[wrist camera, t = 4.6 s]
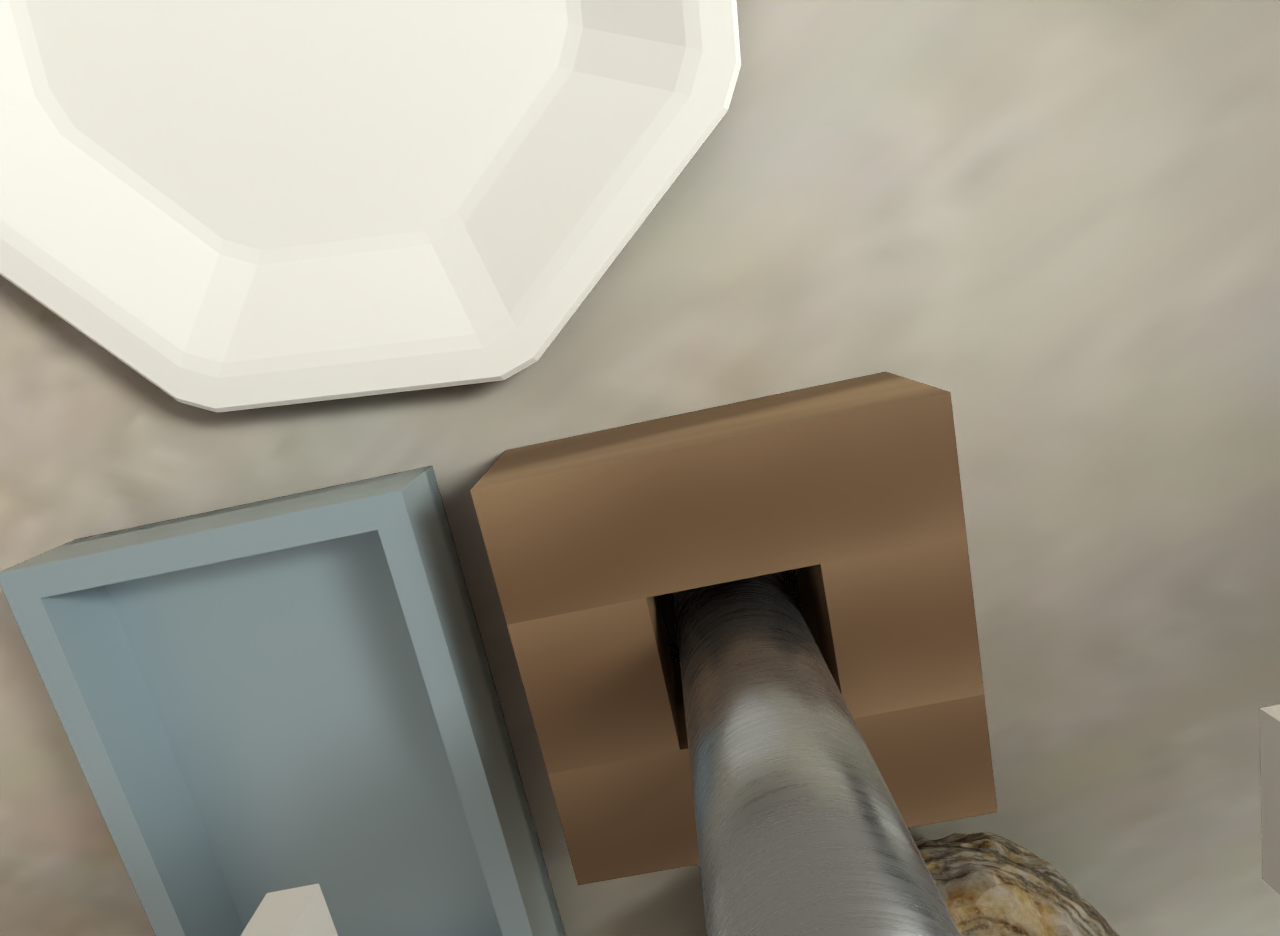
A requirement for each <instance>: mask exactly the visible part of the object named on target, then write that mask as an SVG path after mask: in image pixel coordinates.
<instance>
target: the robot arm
mask: <svg viewBox="0 0 1280 936" xmlns="http://www.w3.org/2000/svg"><path fill="white" fill-rule="evenodd" d="M1259 711H1260V770H1261V829H1262V878H1263V879H1264V880H1265V881H1266V882H1267V883H1268V884H1269V885H1270V886H1271V887H1272V888H1273V889H1275V890H1276V891H1277V892H1278V893H1279V894H1280V705H1274V706H1269V707H1264V708H1259ZM241 936H338V934H337V931H336V929H335V926H334V923H333V921H332V918H331V915H330V912H329V910H328V907H327V904H326V902H325V899H324V896H323V893H322V891H321V888H320V885H319V883H318V884H313V885H308V886H302V887H297V888H291V889H286V890H281V891H275V892H270V893H267V894H266V895H265V897H264V899H263V900H262V902H261V903H260V905H259V907H258V908H257V910H256V911H255V913H254V915H253V916H252V918H251V920H250V921H249V923H248V924H247V926H246V928H245V929H244V931H243V932H242V934H241Z"/></svg>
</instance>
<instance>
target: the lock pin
mask: <svg viewBox="0 0 1280 936" xmlns="http://www.w3.org/2000/svg"><path fill="white" fill-rule="evenodd" d="M673 599H674V609H675V619H676V629H677V639H678V649H679V659H680V669H681V679H682V689H683V699H684V709H685V719H686V730H687V740H688V750H689V760H690V770H691V780H692V790H693V800H694V810H695V820H696V830H697V840H698V850H699V860H700V870H701V880H702V891H703V901H704V911H705V921H706V931H707V936H961V934H960V932H959V930H958V928H957V926H956V924H955V922H954V920H953V918H952V916H951V914H950V912H949V910H948V908H947V906H946V904H945V902H944V900H943V898H942V896H941V894H940V892H939V890H938V888H937V886H936V884H935V882H934V880H933V878H932V876H931V874H930V872H929V870H928V868H927V866H926V864H925V862H924V860H923V858H922V856H921V854H920V852H919V850H918V848H917V846H916V844H915V842H914V840H913V838H912V836H911V834H910V832H909V830H908V828H907V826H906V824H905V822H904V819H903V817H902V815H901V813H900V811H899V809H898V807H897V805H896V803H895V801H894V799H893V797H892V795H891V793H890V791H889V789H888V787H887V785H886V783H885V781H884V779H883V777H882V775H881V773H880V771H879V769H878V767H877V765H876V763H875V761H874V759H873V757H872V755H871V753H870V751H869V749H868V747H867V745H866V743H865V741H864V739H863V737H862V735H861V733H860V731H859V729H858V727H857V725H856V723H855V721H854V719H853V717H852V715H851V713H850V711H849V709H848V707H847V705H846V703H845V701H844V699H843V697H842V695H841V692H840V690H839V688H838V686H837V684H836V682H835V680H834V678H833V676H832V674H831V672H830V670H829V668H828V666H827V664H826V662H825V660H824V658H823V656H822V654H821V652H820V650H819V648H818V646H817V644H816V642H815V640H814V638H813V636H812V634H811V632H810V630H809V628H808V626H807V624H806V622H805V620H804V618H803V616H802V614H801V612H800V610H799V608H798V606H797V604H796V602H795V600H794V598H793V596H792V594H791V592H790V590H789V588H788V586H787V584H786V582H785V580H784V578H783V576H782V574H781V572H777V573H771V574H766V575H761V576H756V577H751V578H746V579H740V580H735V581H730V582H725V583H720V584H715V585H710V586H704V587H699V588H694V589H689V590H684V591H679V592H674V593H673Z"/></svg>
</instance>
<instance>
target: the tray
mask: <svg viewBox="0 0 1280 936" xmlns="http://www.w3.org/2000/svg"><path fill="white" fill-rule="evenodd" d="M0 585H1V588H2V590H3V592H4V594H5V597H6V599H7V601H8V604H9V606H10V608H11V610H12V613H13V615H14V617H15V619H16V622H17V624H18V626H19V628H20V631H21V633H22V635H23V637H24V640H25V642H26V644H27V647H28V649H29V651H30V653H31V656H32V658H33V660H34V662H35V665H36V667H37V669H38V671H39V674H40V676H41V678H42V680H43V683H44V685H45V687H46V689H47V692H48V694H49V696H50V699H51V701H52V703H53V705H54V708H55V710H56V712H57V714H58V717H59V719H60V721H61V723H62V726H63V728H64V730H65V732H66V735H67V737H68V739H69V742H70V744H71V746H72V748H73V751H74V753H75V755H76V757H77V760H78V762H79V764H80V766H81V769H82V771H83V773H84V775H85V778H86V780H87V782H88V784H89V787H90V789H91V791H92V794H93V796H94V798H95V800H96V803H97V805H98V807H99V809H100V812H101V814H102V816H103V818H104V821H105V823H106V825H107V827H108V830H109V832H110V834H111V837H112V839H113V841H114V843H115V846H116V848H117V850H118V852H119V855H120V857H121V859H122V861H123V864H124V866H125V868H126V870H127V873H128V875H129V877H130V879H131V882H132V884H133V886H134V889H135V891H136V893H137V895H138V898H139V900H140V902H141V904H142V907H143V909H144V911H145V913H146V916H147V918H148V920H149V922H150V925H151V927H152V929H153V932H154V934H155V936H241V934H242V932H243V931H244V929H245V928H246V926H247V924H248V923H249V921H250V920H251V918H252V916H253V915H254V913H255V911H256V910H257V908H258V907H259V905H260V903H261V902H262V900H263V899H264V897H265V895H266V894H267V893H270V892H275V891H281V890H286V889H291V888H297V887H302V886H308V885H313V884H318V883H319V885H320V888H321V891H322V893H323V896H324V899H325V902H326V904H327V907H328V910H329V912H330V915H331V918H332V921H333V923H334V926H335V929H336V931H337V934H338V936H565V933H564V929H563V926H562V922H561V919H560V915H559V912H558V908H557V905H556V901H555V897H554V894H553V890H552V887H551V883H550V880H549V876H548V873H547V869H546V866H545V862H544V859H543V855H542V852H541V848H540V845H539V841H538V838H537V834H536V831H535V827H534V824H533V820H532V816H531V813H530V809H529V806H528V802H527V799H526V795H525V792H524V788H523V785H522V781H521V778H520V774H519V771H518V767H517V764H516V760H515V757H514V753H513V750H512V746H511V743H510V739H509V735H508V732H507V728H506V725H505V721H504V718H503V714H502V711H501V707H500V704H499V700H498V697H497V693H496V690H495V686H494V683H493V679H492V676H491V672H490V669H489V665H488V662H487V658H486V654H485V651H484V647H483V644H482V640H481V637H480V633H479V630H478V626H477V623H476V619H475V616H474V612H473V609H472V605H471V602H470V598H469V595H468V591H467V588H466V584H465V580H464V577H463V573H462V570H461V566H460V563H459V559H458V556H457V552H456V549H455V545H454V542H453V538H452V535H451V531H450V528H449V524H448V521H447V517H446V514H445V510H444V507H443V503H442V499H441V496H440V492H439V489H438V485H437V482H436V478H435V475H434V471H433V468H432V466H428V467H423V468H418V469H414V470H409V471H404V472H399V473H394V474H389V475H385V476H380V477H375V478H370V479H365V480H360V481H356V482H351V483H346V484H341V485H336V486H331V487H327V488H322V489H317V490H312V491H307V492H302V493H298V494H293V495H288V496H283V497H278V498H273V499H269V500H264V501H259V502H254V503H249V504H244V505H240V506H235V507H230V508H225V509H220V510H215V511H211V512H206V513H201V514H196V515H191V516H186V517H182V518H177V519H172V520H167V521H162V522H157V523H153V524H148V525H143V526H138V527H133V528H128V529H124V530H119V531H114V532H109V533H104V534H99V535H95V536H90V537H85V538H80V539H75V540H73V541H71V542H69V543H66V544H64V545H62V546H59V547H57V548H55V549H52V550H50V551H48V552H45V553H43V554H41V555H38V556H36V557H34V558H31V559H29V560H27V561H24V562H22V563H20V564H17V565H15V566H13V567H10V568H8V569H6V570H3V571H1V572H0Z"/></svg>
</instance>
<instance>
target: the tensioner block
mask: <svg viewBox="0 0 1280 936" xmlns="http://www.w3.org/2000/svg"><path fill="white" fill-rule="evenodd" d="M470 492H471V496H472V499H473V503H474V507H475V510H476V514H477V518H478V521H479V525H480V529H481V532H482V536H483V540H484V543H485V547H486V550H487V554H488V558H489V561H490V565H491V569H492V572H493V576H494V580H495V583H496V587H497V591H498V594H499V598H500V602H501V605H502V609H503V613H504V616H505V620H506V624H507V627H508V631H509V635H510V638H511V642H512V645H513V649H514V653H515V656H516V660H517V664H518V667H519V671H520V675H521V678H522V682H523V686H524V689H525V693H526V697H527V700H528V704H529V708H530V711H531V715H532V719H533V722H534V726H535V730H536V733H537V737H538V740H539V744H540V748H541V751H542V755H543V759H544V762H545V766H546V770H547V773H548V777H549V781H550V784H551V788H552V792H553V795H554V799H555V803H556V806H557V810H558V814H559V817H560V821H561V825H562V828H563V832H564V835H565V839H566V843H567V846H568V850H569V854H570V857H571V861H572V865H573V868H574V872H575V876H576V879H577V883H578V885H582V884H587V883H593V882H599V881H605V880H610V879H616V878H622V877H628V876H633V875H639V874H645V873H651V872H656V871H662V870H668V869H674V868H679V867H685V866H691V865H697V864H700V860H699V850H698V840H697V830H696V820H695V810H694V800H693V790H692V780H691V770H690V760H689V750H688V740H687V730H686V719H685V709H684V699H683V689H682V679H681V669H680V662H677V663H673V661H672V656H671V652H670V647H669V643H668V638H667V633H666V629H665V624H664V620H663V615H662V611H661V606H660V602H659V597H658V595H663V594H668V593H674V592H679V591H684V590H689V589H694V588H699V587H704V586H710V585H715V584H720V583H725V582H730V581H735V580H740V579H746V578H751V577H756V576H761V575H766V574H771V573H777V572H782V571H787V570H792V569H795V572H796V577H797V583H798V589H799V595H800V601H801V607H802V612H803V618H804V620H805V622H806V624H807V626H808V628H809V630H810V632H811V634H812V636H813V638H814V640H815V642H816V644H817V646H818V648H819V650H820V652H821V654H822V656H823V658H824V660H825V662H826V664H827V666H828V668H829V670H830V672H831V674H832V676H833V678H834V680H835V682H836V684H837V686H838V688H839V690H840V692H841V695H842V697H843V699H844V701H845V703H846V705H847V707H848V709H849V711H850V713H851V715H852V717H853V719H854V721H855V723H856V725H857V727H858V729H859V731H860V733H861V735H862V737H863V739H864V741H865V743H866V745H867V747H868V749H869V751H870V753H871V755H872V757H873V759H874V761H875V763H876V765H877V767H878V769H879V771H880V773H881V775H882V777H883V779H884V781H885V783H886V785H887V787H888V789H889V791H890V793H891V795H892V797H893V799H894V801H895V803H896V805H897V807H898V809H899V811H900V813H901V815H902V817H903V819H904V822H905V824H906V826H907V828H909V827H915V826H921V825H926V824H932V823H938V822H944V821H949V820H955V819H961V818H967V817H972V816H978V815H984V814H990V813H995V812H997V805H996V796H995V787H994V778H993V769H992V760H991V751H990V742H989V733H988V724H987V716H986V707H985V698H984V689H983V680H982V671H981V662H980V653H979V644H978V635H977V626H976V617H975V608H974V599H973V590H972V582H971V573H970V564H969V555H968V546H967V537H966V528H965V519H964V510H963V501H962V492H961V483H960V474H959V465H958V457H957V448H956V439H955V430H954V421H953V412H952V403H951V394H950V392H948V391H945V390H942V389H938V388H935V387H932V386H929V385H926V384H923V383H919V382H916V381H913V380H910V379H907V378H904V377H901V376H897V375H894V374H891V373H888V372H882V373H878V374H873V375H868V376H863V377H858V378H853V379H849V380H844V381H839V382H834V383H829V384H824V385H820V386H815V387H810V388H805V389H800V390H795V391H791V392H786V393H781V394H776V395H771V396H766V397H762V398H757V399H752V400H747V401H742V402H737V403H733V404H728V405H723V406H718V407H713V408H708V409H704V410H699V411H694V412H689V413H684V414H679V415H675V416H670V417H665V418H660V419H655V420H650V421H646V422H641V423H636V424H631V425H626V426H621V427H617V428H612V429H607V430H602V431H597V432H592V433H588V434H583V435H578V436H573V437H568V438H563V439H559V440H554V441H549V442H544V443H539V444H534V445H530V446H525V447H520V448H515V449H510V450H505V452H504V453H503V454H502V455H501V456H500V457H499V458H498V459H497V461H496V462H495V463H494V464H493V465H492V466H491V467H490V469H489V470H488V471H487V472H486V473H485V474H484V475H483V476H482V478H481V479H480V480H479V481H478V482H477V483H476V484H475V485H474V487H473V488H472V489H471V490H470Z"/></svg>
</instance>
